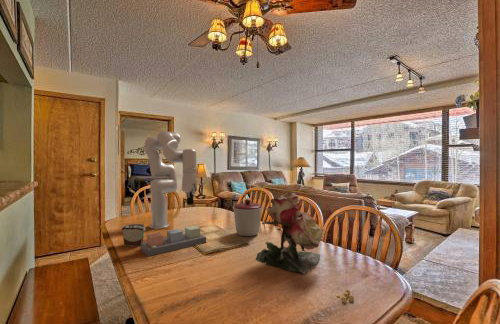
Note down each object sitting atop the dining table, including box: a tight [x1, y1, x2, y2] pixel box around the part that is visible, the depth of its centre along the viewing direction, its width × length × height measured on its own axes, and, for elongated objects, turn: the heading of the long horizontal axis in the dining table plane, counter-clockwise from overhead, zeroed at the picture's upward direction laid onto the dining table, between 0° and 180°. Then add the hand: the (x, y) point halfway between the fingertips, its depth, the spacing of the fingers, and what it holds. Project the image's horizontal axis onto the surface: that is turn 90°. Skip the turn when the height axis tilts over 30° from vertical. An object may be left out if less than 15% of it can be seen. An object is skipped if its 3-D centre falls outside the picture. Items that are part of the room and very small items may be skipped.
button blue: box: [166, 228, 184, 243], centre depth 125 cm, size 6×6×5 cm
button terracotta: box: [146, 232, 164, 248], centre depth 118 cm, size 6×6×5 cm
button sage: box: [184, 225, 201, 239], centre depth 131 cm, size 6×6×5 cm
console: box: [140, 233, 207, 257], centre depth 125 cm, size 12×30×4 cm, turn 129°
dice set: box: [336, 289, 355, 304], centre depth 78 cm, size 5×5×2 cm
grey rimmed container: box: [121, 223, 146, 247], centre depth 127 cm, size 12×6×10 cm, turn 84°
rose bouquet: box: [251, 191, 324, 275], centre depth 109 cm, size 26×29×30 cm
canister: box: [232, 198, 264, 237], centre depth 145 cm, size 18×18×21 cm
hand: (190, 204), depth 134 cm, fingers closed
